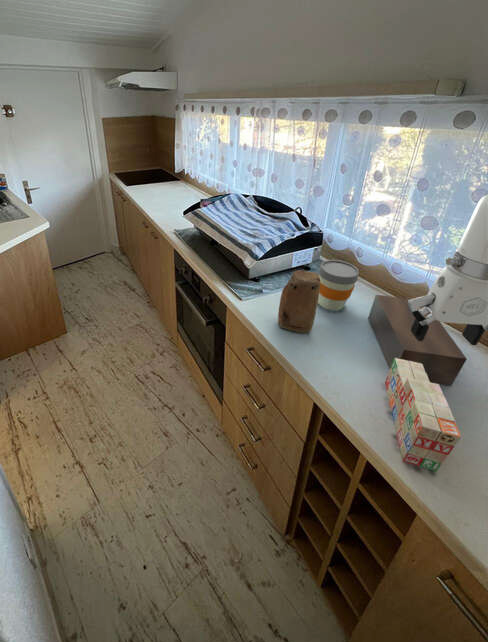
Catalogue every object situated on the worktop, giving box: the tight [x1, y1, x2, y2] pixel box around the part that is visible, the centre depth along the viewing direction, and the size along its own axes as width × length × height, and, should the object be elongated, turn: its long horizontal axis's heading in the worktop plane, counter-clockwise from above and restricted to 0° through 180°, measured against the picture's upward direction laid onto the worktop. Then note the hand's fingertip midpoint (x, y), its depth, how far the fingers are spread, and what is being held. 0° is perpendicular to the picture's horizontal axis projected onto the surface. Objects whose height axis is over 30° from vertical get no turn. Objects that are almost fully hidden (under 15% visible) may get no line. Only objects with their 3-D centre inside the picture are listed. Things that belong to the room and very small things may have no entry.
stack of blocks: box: [384, 358, 462, 472], centre depth 69 cm, size 21×6×12 cm, turn 160°
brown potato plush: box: [277, 269, 320, 334], centre depth 97 cm, size 11×8×20 cm
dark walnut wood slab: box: [367, 294, 468, 387], centre depth 90 cm, size 14×25×10 cm, turn 167°
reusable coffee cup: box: [318, 259, 359, 312], centre depth 109 cm, size 13×13×15 cm
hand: (442, 338), depth 62 cm, fingers open, 9 cm apart
